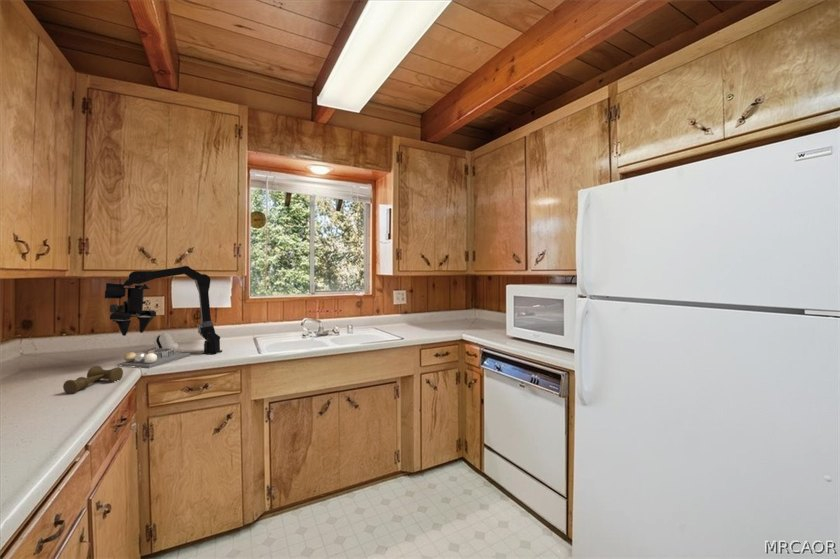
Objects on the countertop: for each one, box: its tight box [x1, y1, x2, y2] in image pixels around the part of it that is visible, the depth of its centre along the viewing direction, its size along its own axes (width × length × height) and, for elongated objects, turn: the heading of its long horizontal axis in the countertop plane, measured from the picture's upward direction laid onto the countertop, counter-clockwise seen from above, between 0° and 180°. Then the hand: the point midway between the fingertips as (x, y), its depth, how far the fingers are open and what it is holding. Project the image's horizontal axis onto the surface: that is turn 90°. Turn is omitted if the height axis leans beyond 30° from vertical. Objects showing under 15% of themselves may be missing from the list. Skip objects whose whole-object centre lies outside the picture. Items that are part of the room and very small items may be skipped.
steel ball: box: [134, 352, 147, 363], centre depth 154 cm, size 4×4×4 cm
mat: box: [118, 352, 192, 369], centre depth 161 cm, size 16×21×1 cm
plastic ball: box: [145, 353, 157, 363], centre depth 153 cm, size 4×4×4 cm
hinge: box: [153, 332, 179, 350], centre depth 181 cm, size 17×5×10 cm, turn 23°
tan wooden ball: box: [123, 351, 137, 362], centre depth 155 cm, size 4×4×4 cm
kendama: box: [62, 365, 124, 395], centre depth 129 cm, size 6×10×20 cm
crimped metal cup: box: [147, 348, 177, 358], centre depth 166 cm, size 10×10×2 cm
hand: (132, 334), depth 155 cm, fingers open, 9 cm apart
